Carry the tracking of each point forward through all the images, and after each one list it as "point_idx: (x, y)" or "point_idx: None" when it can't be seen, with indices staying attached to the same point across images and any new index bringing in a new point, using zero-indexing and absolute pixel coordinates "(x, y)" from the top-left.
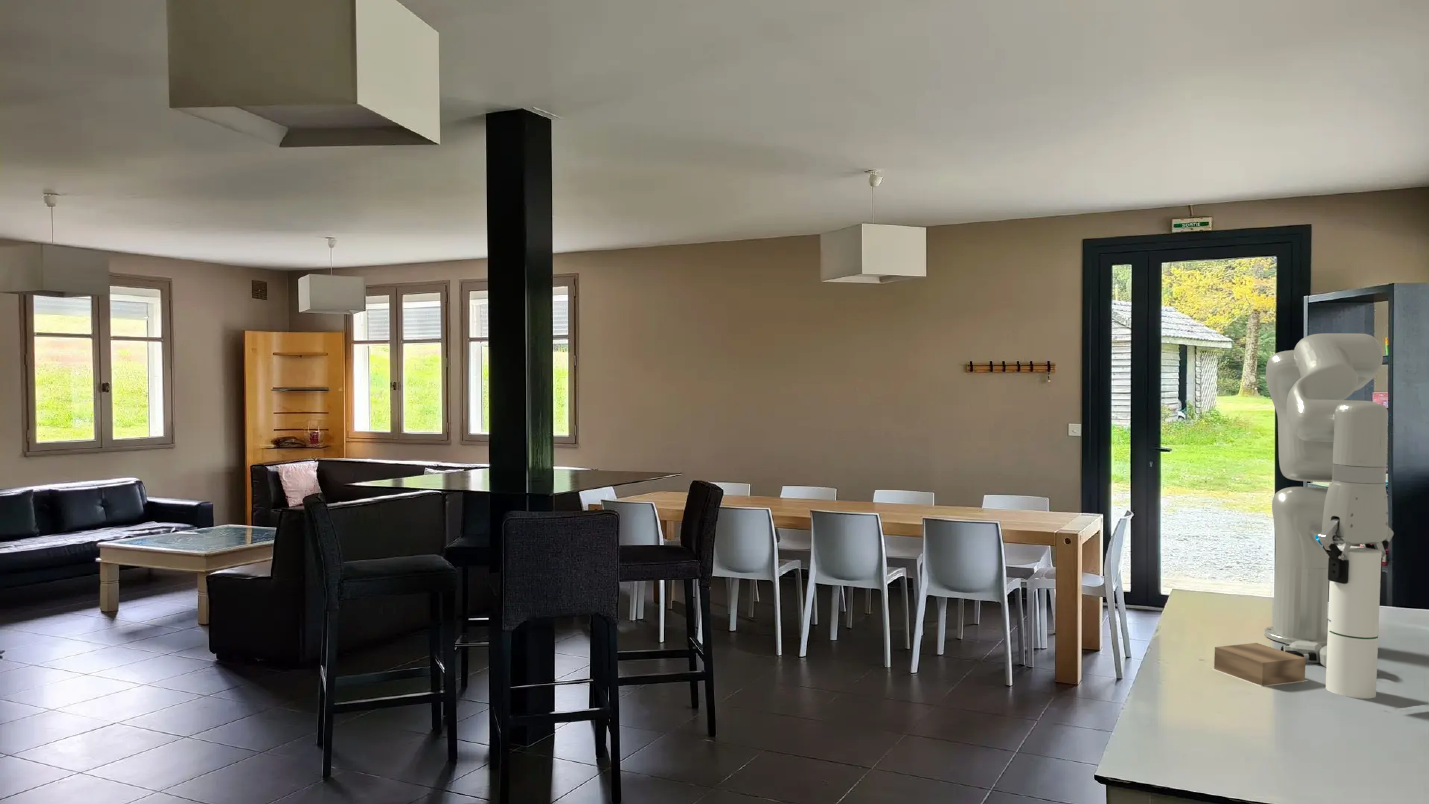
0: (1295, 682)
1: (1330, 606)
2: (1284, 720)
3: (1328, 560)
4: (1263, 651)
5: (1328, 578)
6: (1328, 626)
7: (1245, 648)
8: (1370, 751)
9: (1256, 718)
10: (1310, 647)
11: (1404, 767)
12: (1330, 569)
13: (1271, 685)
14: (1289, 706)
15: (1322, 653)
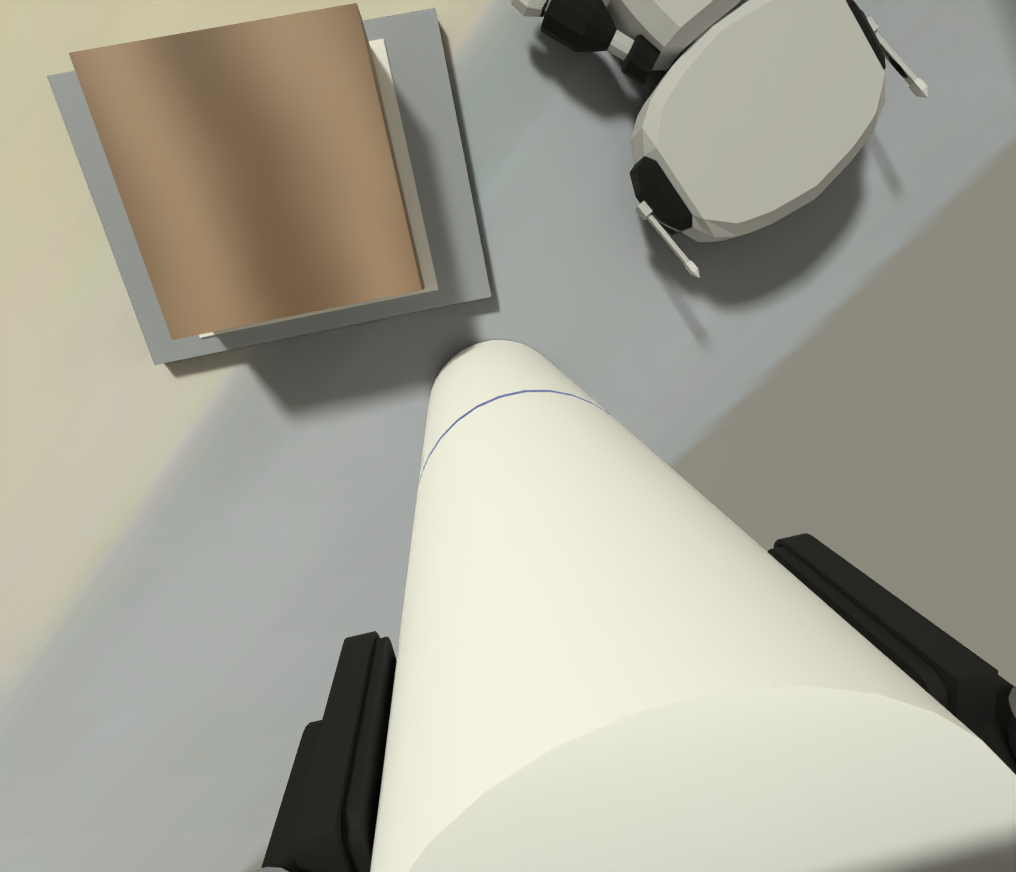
0: (374, 302)
1: (417, 506)
2: (121, 588)
3: (302, 794)
4: (291, 167)
5: (346, 645)
6: (432, 441)
7: (229, 101)
8: (218, 780)
9: (36, 569)
10: (661, 22)
11: (230, 854)
12: (294, 778)
13: (255, 326)
14: (220, 479)
15: (651, 109)
